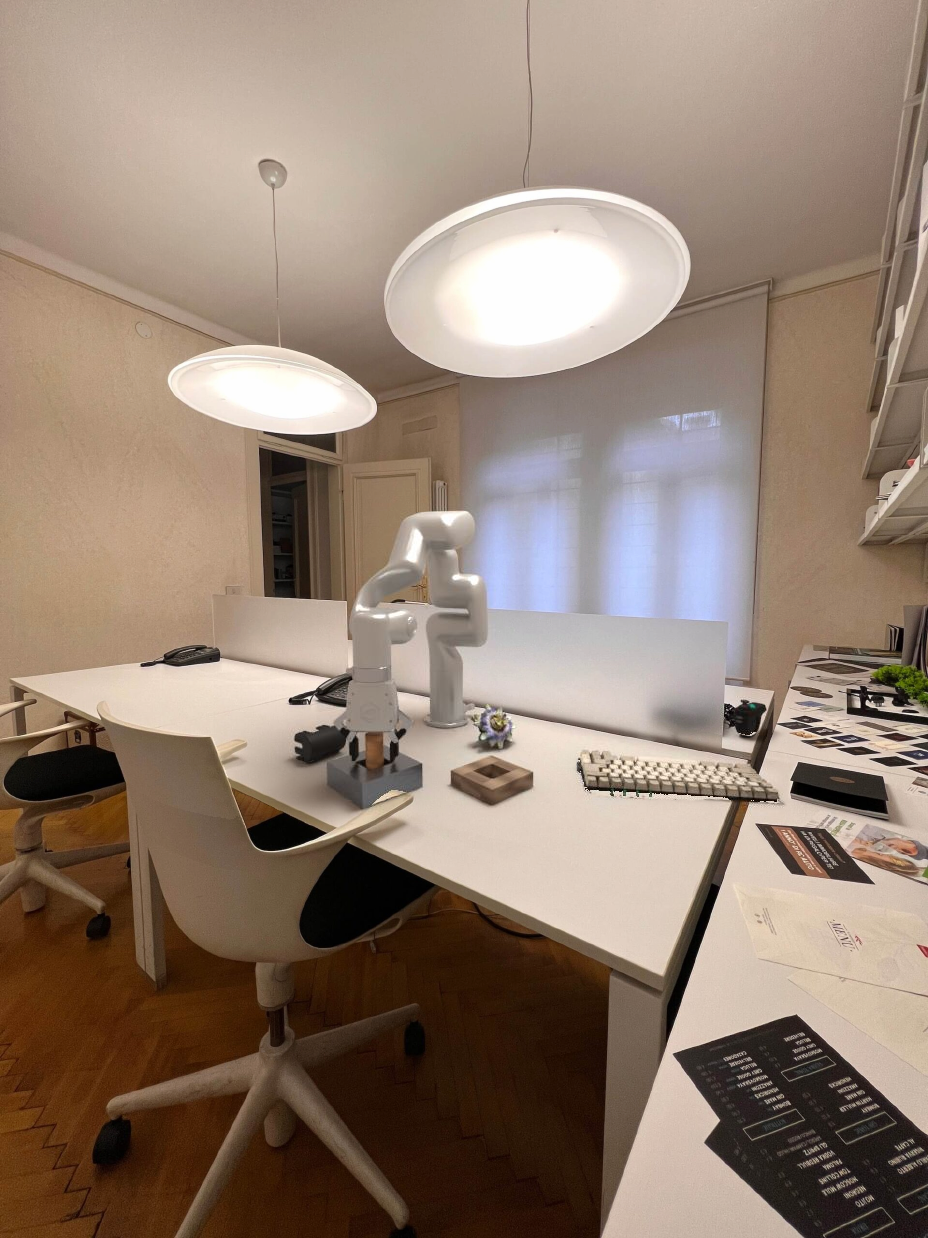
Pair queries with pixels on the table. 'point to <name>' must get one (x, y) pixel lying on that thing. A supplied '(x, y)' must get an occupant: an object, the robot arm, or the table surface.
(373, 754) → the pin
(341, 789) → the socket block
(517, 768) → the frame
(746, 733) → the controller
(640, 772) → the mechanical keyboard
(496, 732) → the passion flower
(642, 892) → the table surface
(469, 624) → the robot arm
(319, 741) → the end cap
